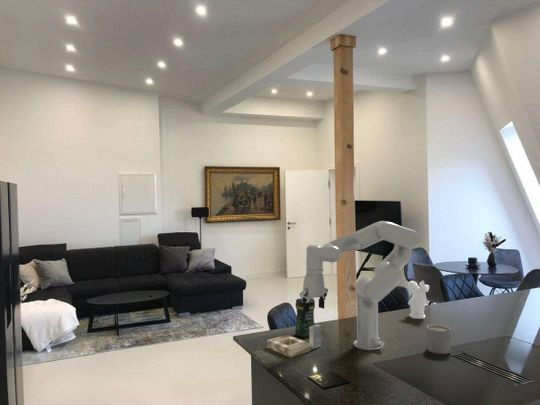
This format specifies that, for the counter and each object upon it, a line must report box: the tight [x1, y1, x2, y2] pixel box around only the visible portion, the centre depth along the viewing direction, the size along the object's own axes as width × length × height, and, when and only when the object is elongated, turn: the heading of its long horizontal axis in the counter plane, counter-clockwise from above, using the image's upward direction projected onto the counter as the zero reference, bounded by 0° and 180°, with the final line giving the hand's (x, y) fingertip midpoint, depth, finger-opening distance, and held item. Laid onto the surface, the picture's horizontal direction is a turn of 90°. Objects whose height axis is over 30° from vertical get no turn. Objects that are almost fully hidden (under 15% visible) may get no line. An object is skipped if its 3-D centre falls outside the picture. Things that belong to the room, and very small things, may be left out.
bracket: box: [306, 323, 322, 350], centre depth 196 cm, size 6×5×10 cm
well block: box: [267, 334, 312, 358], centre depth 193 cm, size 16×12×4 cm
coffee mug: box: [426, 324, 452, 355], centre depth 192 cm, size 13×10×10 cm
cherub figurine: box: [407, 280, 430, 320], centre depth 244 cm, size 12×12×22 cm
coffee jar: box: [294, 297, 316, 338], centre depth 213 cm, size 10×8×19 cm
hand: (313, 309), depth 195 cm, fingers open, 9 cm apart
